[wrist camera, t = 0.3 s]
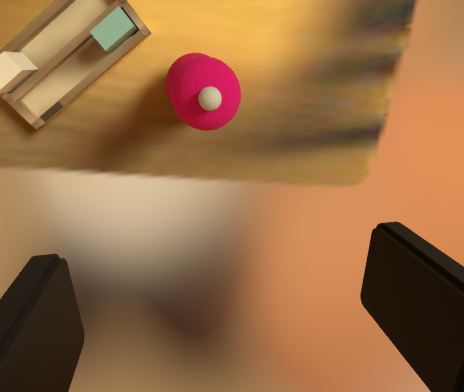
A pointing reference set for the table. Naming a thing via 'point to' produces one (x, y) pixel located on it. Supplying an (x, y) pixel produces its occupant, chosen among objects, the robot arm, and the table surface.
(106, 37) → the teal tab
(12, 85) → the ivory tab
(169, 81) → the pepper mill
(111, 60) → the wooden shelf rack
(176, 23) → the table surface
